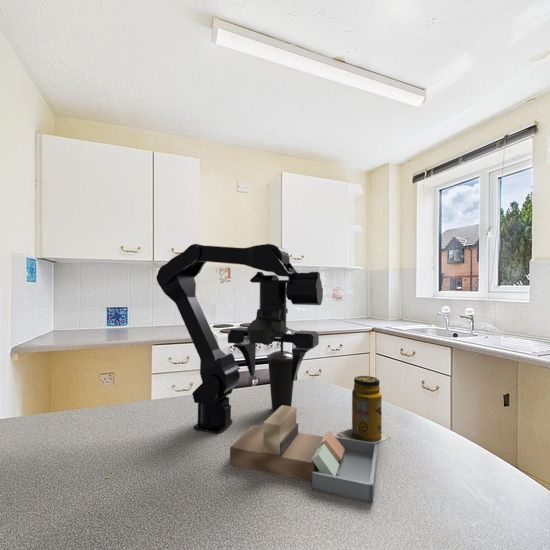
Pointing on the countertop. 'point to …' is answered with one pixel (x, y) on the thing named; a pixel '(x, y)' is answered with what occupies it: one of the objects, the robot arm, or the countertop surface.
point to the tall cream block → (280, 430)
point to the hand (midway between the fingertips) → (272, 378)
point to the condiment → (366, 411)
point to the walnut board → (289, 464)
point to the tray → (351, 472)
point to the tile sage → (325, 461)
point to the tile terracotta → (333, 446)
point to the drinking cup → (280, 378)
